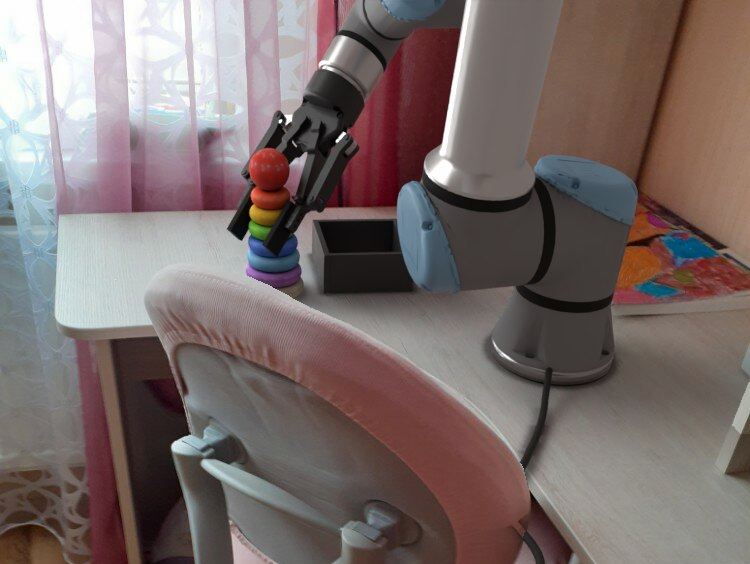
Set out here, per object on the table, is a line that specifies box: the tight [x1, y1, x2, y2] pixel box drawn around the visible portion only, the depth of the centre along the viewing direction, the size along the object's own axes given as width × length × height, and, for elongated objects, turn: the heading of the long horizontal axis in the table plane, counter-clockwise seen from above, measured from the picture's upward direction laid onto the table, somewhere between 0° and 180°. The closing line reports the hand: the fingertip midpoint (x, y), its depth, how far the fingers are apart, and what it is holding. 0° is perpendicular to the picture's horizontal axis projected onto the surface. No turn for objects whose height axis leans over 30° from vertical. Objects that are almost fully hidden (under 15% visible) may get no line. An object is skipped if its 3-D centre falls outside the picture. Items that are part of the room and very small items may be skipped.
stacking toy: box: [245, 148, 305, 299], centre depth 110 cm, size 8×8×19 cm
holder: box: [311, 218, 414, 295], centre depth 120 cm, size 13×13×6 cm
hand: (251, 242), depth 109 cm, fingers closed on stacking toy, 6 cm apart
